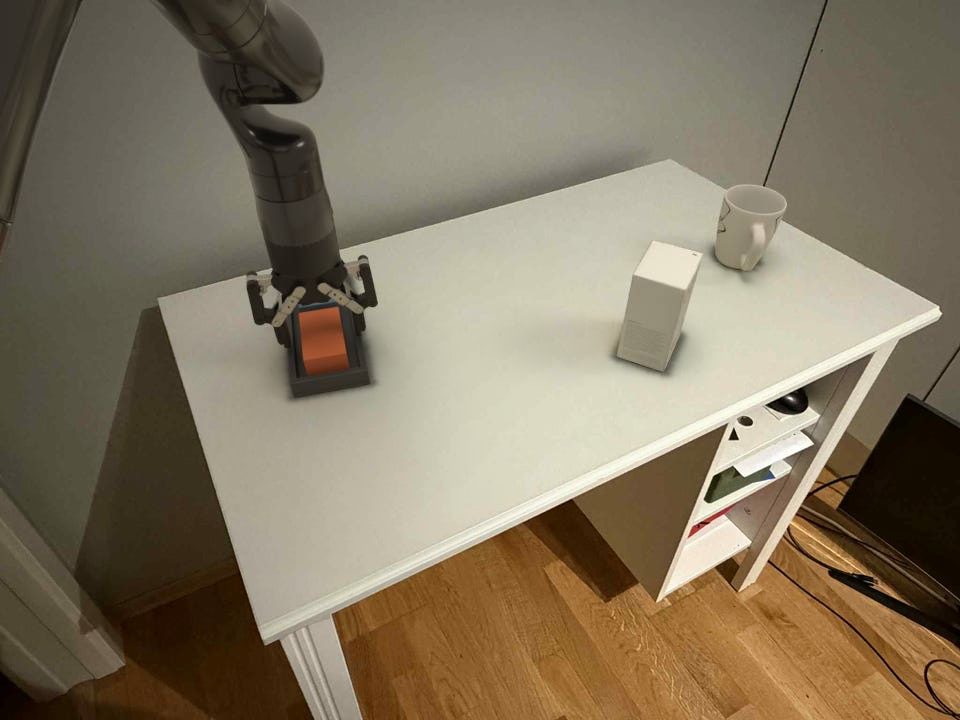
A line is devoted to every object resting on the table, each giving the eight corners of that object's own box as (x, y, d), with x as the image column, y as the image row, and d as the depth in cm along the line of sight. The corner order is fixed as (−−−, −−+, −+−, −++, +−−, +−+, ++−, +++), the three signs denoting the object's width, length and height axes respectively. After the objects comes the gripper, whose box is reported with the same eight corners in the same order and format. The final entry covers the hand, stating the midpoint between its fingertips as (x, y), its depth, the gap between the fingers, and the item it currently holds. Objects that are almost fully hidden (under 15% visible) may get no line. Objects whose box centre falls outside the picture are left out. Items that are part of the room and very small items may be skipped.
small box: (634, 320, 86) (652, 238, 77) (680, 335, 84) (705, 252, 75) (614, 357, 81) (631, 273, 72) (663, 373, 79) (687, 289, 70)
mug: (774, 288, 91) (799, 228, 84) (714, 284, 92) (733, 224, 85) (758, 244, 99) (779, 185, 93) (703, 240, 100) (720, 182, 93)
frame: (370, 383, 77) (367, 369, 76) (293, 398, 76) (289, 383, 74) (348, 276, 93) (346, 263, 91) (285, 286, 91) (281, 272, 90)
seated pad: (342, 322, 85) (338, 301, 82) (303, 328, 84) (298, 307, 81) (335, 282, 91) (331, 262, 89) (299, 288, 90) (294, 267, 88)
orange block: (350, 373, 78) (346, 352, 75) (308, 381, 77) (303, 360, 74) (342, 327, 84) (338, 306, 82) (303, 333, 83) (298, 312, 81)
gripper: (227, 253, 64) (265, 368, 75) (369, 233, 66) (385, 347, 77) (228, 214, 69) (263, 328, 80) (360, 197, 71) (376, 309, 83)
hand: (323, 337), depth 79 cm, fingers open, 8 cm apart
